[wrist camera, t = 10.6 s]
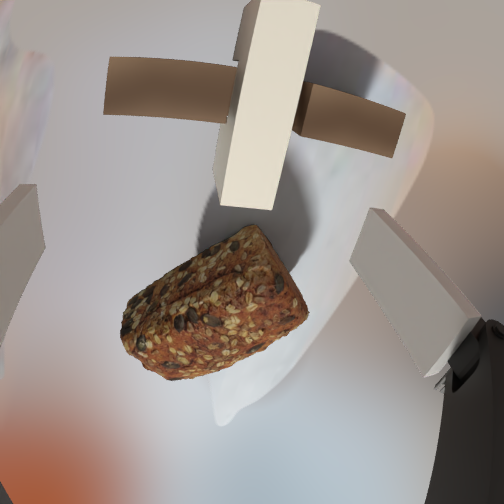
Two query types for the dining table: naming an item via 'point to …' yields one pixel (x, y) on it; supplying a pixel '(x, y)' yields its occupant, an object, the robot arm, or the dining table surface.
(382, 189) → the dining table surface
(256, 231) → the bread
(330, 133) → the walnut rail
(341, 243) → the dining table surface
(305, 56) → the cream bar
